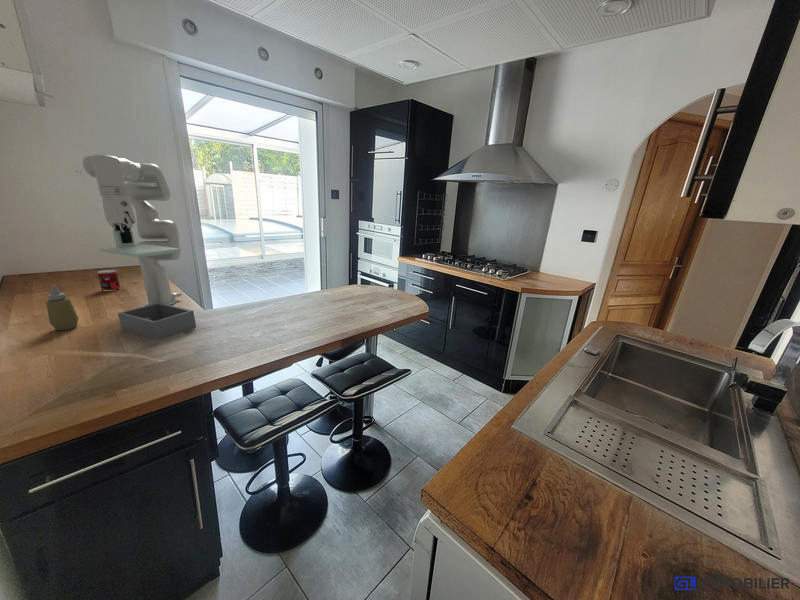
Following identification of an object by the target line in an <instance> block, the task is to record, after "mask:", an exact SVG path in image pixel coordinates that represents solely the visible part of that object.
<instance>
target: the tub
mask: <svg viewBox="0 0 800 600" xmlns="http://www.w3.org/2000/svg"><path fill="white" fill-rule="evenodd" d="M117 315H118V319H119V323H120V326H121V330H122V331H126V332H129V333H132V334H135V335H139V336H142V337H146V338H149V339H152V340H156V341H159V340H162V339H165V338H168V337H170V336H173V335H176V334H179V333H181V332H184V331H187V330H190V329H194V328H196V327H197V325H196V319H195V317H196V316H195V313H194V310H192V309H187V308H183V307H180V306H174V305H166V304H162V303H156V304H152V305H148V306H141V307H136V308H133V309H129V310H125V311H121V312H118V313H117ZM144 318H152V319H153V321H152V320H148V319H144Z"/></svg>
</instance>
